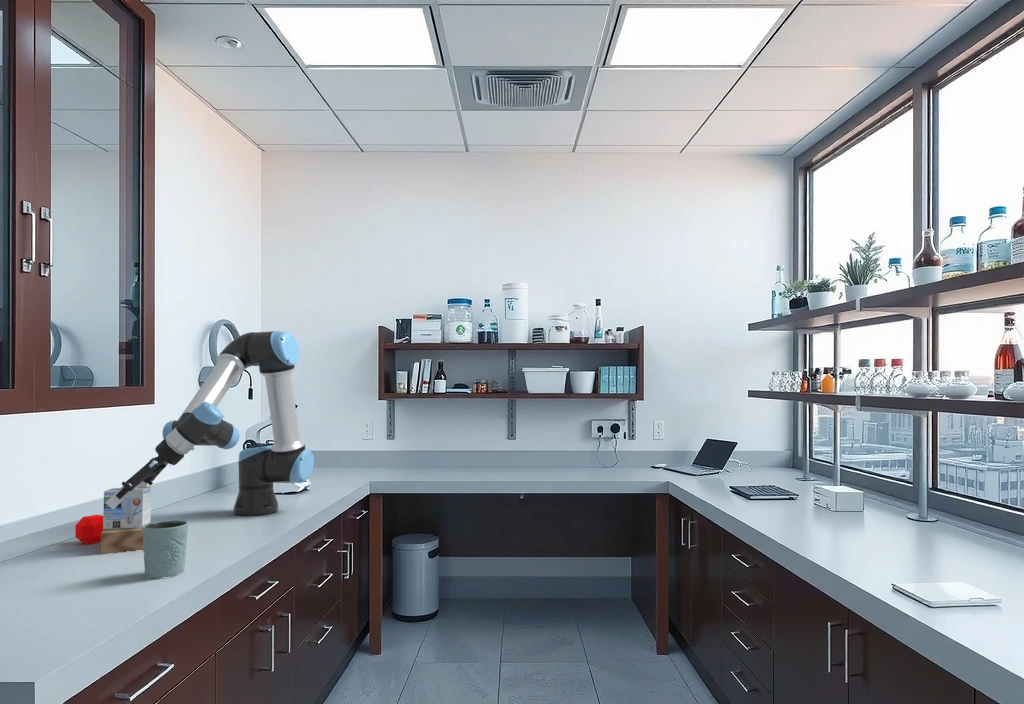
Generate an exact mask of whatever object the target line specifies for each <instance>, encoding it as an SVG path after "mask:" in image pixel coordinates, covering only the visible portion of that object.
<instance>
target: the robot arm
mask: <svg viewBox="0 0 1024 704" xmlns="http://www.w3.org/2000/svg"><path fill="white" fill-rule="evenodd" d="M300 356H301V351H300V346H299V342H298V340H297V339H296V337H295V335H293V334H292V333H290V332H288V331H279V330H274V331H258V332H254V331H253V332H252V331H251V332H246V333H243V334H241V335H239V336H238V337H235V338H234V339H233V340H232V341H230V342H229V344H227V345H226V346H225V347H224V348H223V350H221V352H220V353H219V355H218V356H217V358H216V365H215V366H214V367H213V369H212V370H211V372H210V373H209V374H208V376H207V378H206V379H205V380H204V382H203V383H202V384H201V386H200V388H199V389H198V391H197V392H196V393H195V395H194V396H193V397H192V399H191V401H190V402H189V403H188V405H187V406H186V408H185V409H184V411H183V412H182V414H181V415H180V416H179V417H178V419H177V420H170V421H168V422H166V423H165V424H164V426H163V428H162V433H161V434H162V438H163V439H162V441H160V442H159V443H158V444H157V445H156V446H155V448H154V451H155V453H156V454H157V456H155V457H152V458H151V459H149V461H148V462H147V463H146V464H145V465H144V466H142V467H141V468H139V470H137V472H136V473H134V474H133V475H132V476H131V477H129V479H128V480H126V481H124V480H123V481H122V482H121V485H122V486H121V487H119V488H120V489H119V490H118V491H117V492H116V493H115V494H114V495H113V496H112V497H111V498H110V499H109V500H108V501H107V502H106V504H107V505H108V506H109V507H111V508H112V509H114V508H115V507H116V506H117V505H119V504H120V503H121V502H122V501H123V500H124V499H125V498H126V497H127V496H128V495H129V494H130V493H131V492H132V490H133V489H134V488H135V487H148V485H149V486H152V485H153V483H154V482H153V481H154V480H155V479H156V478H157V477H158V476H159V475H160V474H161V472H162V471H163V470H164V469H165V468H166V467H167V466H168V465H171V466H175V465H177V464H178V463H180V461H182V460H183V458H184V457H185V455H187V454H188V453H189V452H190V451H195V449H196V448H195V446H199V447H200V446H205V447H206V446H208V447H209V446H213V447H214V446H215V447H217V448H219V449H223V450H230V449H233V448H234V447H236V446H237V444H238V443H239V441H240V436H241V433H240V430H239V429H238V428H237V427H236V426H235V425H234V424H232V423H230V422H228V421H226V420H224V414H223V412H222V411H221V410H220V409H219V408H218V405H219V404H220V402H221V401H222V400H223V398H224V396H225V395H226V393H227V392H228V390H229V389H230V387H232V384H233V383H234V382H235V380H236V378H237V377H238V376H240V375H242V374H243V373H244V372H245V370H246V369H248V368H251V367H258V369H259V374H261V376H264V378H265V379H264V380H265V386H266V393H267V400H268V401H267V402H268V406H269V413H270V422H271V428H272V436H273V442H274V443H273V444H271V445H266V446H264V445H263V446H258V447H253V448H252V447H251V448H245V449H241V450H240V452H239V455H238V461H237V463H238V493H237V496H236V499H235V502H234V504H233V514H234V515H235V514H237V515H236V516H260V515H261V516H263V515H267V514H272V513H273V514H274V513H277V512H278V511H279V502H278V500H277V496H276V494H275V490H274V483H275V484H277V483H279V484H280V483H281V484H292V485H293V484H303V483H304V482H306V481H307V480H308V479H309V478H310V477H311V475H312V472H313V469H314V465H315V458H314V457H315V456H314V454H313V451H311V450H309V449H306V443H305V441H303V440H302V439H300V438H301V437H300V431H299V430H300V429H299V424H298V416H297V409H296V403H295V402H296V401H295V394H294V386H293V380H292V372H294V370H295V368H296V364H297V363H298V362H299V360H300Z"/></svg>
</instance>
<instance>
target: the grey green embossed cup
mask: <svg viewBox="0 0 1024 704" xmlns="http://www.w3.org/2000/svg"><path fill="white" fill-rule="evenodd" d="M188 529H189V521H187V520H181V519H178V520H177V519H172V520H171V519H169V520H168V519H167V520H160V521H159V520H158V521H153V522H152V521H150V523H147V524H145V525H143V526H142V533H143V550H142V551H143V565H144V577H145V576H146V577H149V578H148V579H150V578H162V579H164V578H163V577H169V576H174V575H177V574H180V573H182V572H184V573H185V563H186V556H187V555H186V554H187V553H186V550H187V543H188V531H189V530H188ZM146 577H145V578H146ZM174 577H175V576H174ZM169 578H170V577H169Z"/></svg>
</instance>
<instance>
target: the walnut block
mask: <svg viewBox="0 0 1024 704" xmlns="http://www.w3.org/2000/svg"><path fill="white" fill-rule="evenodd" d="M136 550H142V551H144V550H143V533H142V528H125V529H104V530H103V531H102V533H101V543H100V555H109V554H108V553H111V554H118V552H121V553H128V552H127V551H131V552H137V551H136Z"/></svg>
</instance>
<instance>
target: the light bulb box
mask: <svg viewBox="0 0 1024 704" xmlns="http://www.w3.org/2000/svg"><path fill="white" fill-rule="evenodd" d="M120 488H121V487H113V488H110V489H107V490H104V491H103V515H102V516H103V529H125V528H142V526H143V525H145V524H147V523H151V507H152V506H151V502H152V501H151V494H152V493H151V492H152V491H151V490H152V489H151V486H146V487H135V488H134V489H133V490H132V492H131V493H130V494H129V495H128V496H127V497H126V498H125V499H124V500H123V501H122V502H121V503H120V504H119V505H117V506H116V507H115V508H114V509H112V508H111V507H109V506H108V505H107V504H106V502H107V501H108V500H109V499H110V498H111V497H112V496H113V495H114V494H115V493H116V492H117V491H118V490H119V489H120Z"/></svg>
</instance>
